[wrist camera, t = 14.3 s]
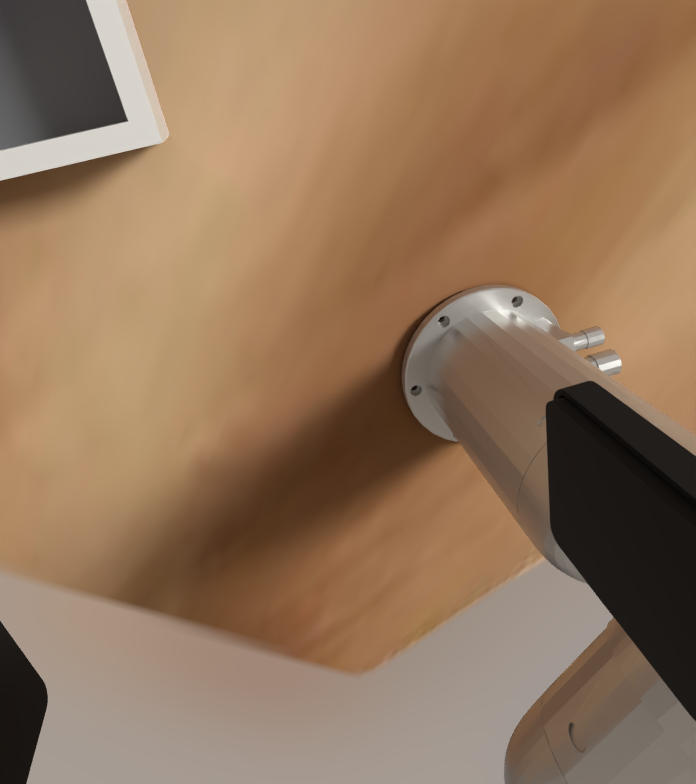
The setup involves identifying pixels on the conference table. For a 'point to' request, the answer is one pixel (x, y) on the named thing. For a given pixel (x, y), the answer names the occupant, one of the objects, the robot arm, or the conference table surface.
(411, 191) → the conference table surface
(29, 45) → the walled box
